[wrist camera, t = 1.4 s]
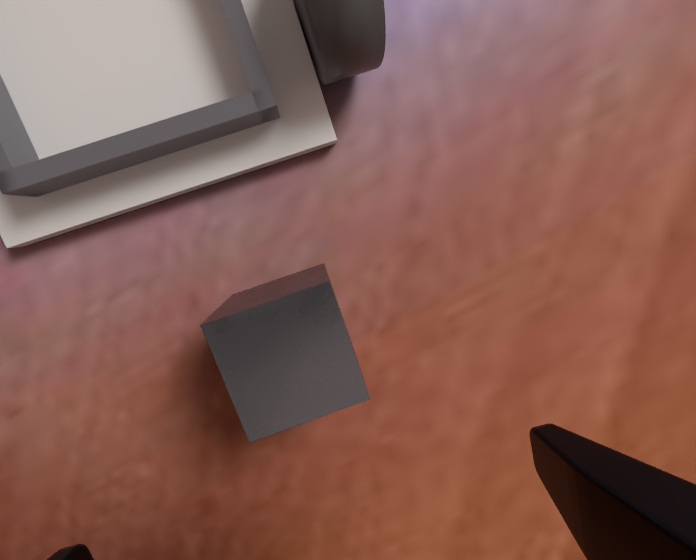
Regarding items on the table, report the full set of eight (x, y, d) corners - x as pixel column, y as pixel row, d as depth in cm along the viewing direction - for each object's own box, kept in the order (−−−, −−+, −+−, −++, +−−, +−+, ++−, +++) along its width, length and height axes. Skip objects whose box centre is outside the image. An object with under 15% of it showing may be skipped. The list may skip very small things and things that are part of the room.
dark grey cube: (266, 379, 21) (249, 442, 15) (233, 294, 20) (200, 325, 14) (353, 349, 21) (370, 399, 15) (323, 263, 20) (329, 280, 14)
